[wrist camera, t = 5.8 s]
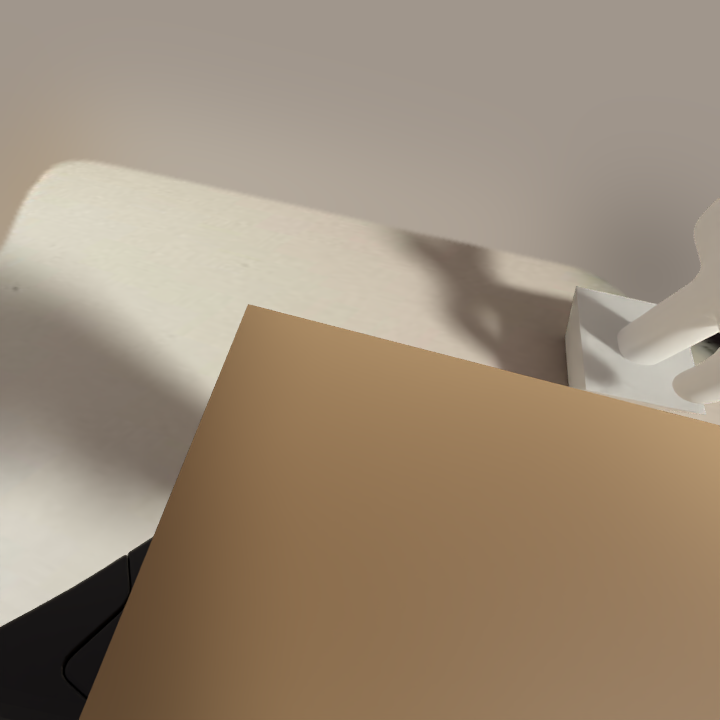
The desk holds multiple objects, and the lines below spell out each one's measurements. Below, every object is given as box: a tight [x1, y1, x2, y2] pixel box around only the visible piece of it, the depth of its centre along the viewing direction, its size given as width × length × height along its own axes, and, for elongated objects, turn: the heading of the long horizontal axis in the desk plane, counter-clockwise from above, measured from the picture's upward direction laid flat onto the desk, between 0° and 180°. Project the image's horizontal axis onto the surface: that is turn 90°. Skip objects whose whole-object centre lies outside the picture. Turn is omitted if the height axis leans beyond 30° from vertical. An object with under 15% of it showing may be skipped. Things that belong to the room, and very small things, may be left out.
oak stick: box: [79, 304, 720, 720], centre depth 8 cm, size 4×4×13 cm
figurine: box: [565, 197, 720, 415], centre depth 21 cm, size 7×9×15 cm
